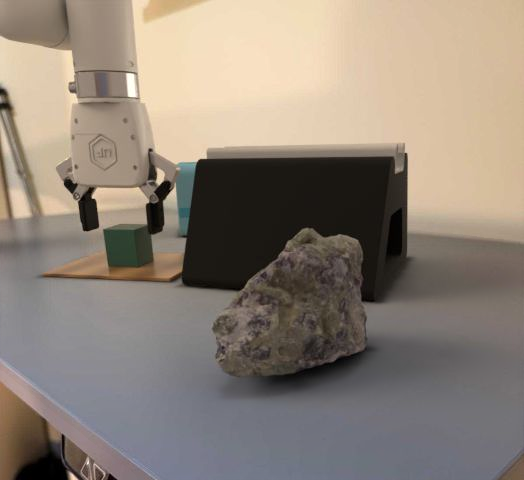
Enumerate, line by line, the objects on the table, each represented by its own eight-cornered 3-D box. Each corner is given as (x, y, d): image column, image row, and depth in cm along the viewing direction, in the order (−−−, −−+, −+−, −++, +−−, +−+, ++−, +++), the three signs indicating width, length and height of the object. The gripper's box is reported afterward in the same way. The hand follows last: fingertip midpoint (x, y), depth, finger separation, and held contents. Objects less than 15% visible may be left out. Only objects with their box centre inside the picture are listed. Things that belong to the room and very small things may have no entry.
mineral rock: (218, 399, 36) (208, 249, 32) (203, 343, 46) (194, 223, 42) (400, 379, 38) (410, 235, 34) (348, 329, 48) (352, 214, 44)
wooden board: (43, 276, 70) (42, 273, 70) (100, 254, 83) (100, 251, 83) (169, 281, 66) (169, 278, 66) (210, 257, 78) (210, 254, 78)
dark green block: (107, 266, 73) (102, 229, 71) (124, 259, 77) (120, 223, 75) (138, 267, 71) (134, 229, 70) (154, 260, 76) (150, 224, 74)
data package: (205, 236, 94) (200, 164, 90) (179, 237, 94) (173, 165, 90) (207, 226, 105) (203, 161, 101) (184, 227, 105) (178, 162, 101)
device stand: (256, 249, 82) (253, 144, 77) (406, 257, 74) (415, 140, 69) (182, 286, 63) (170, 150, 58) (373, 302, 55) (381, 146, 50)
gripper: (28, 90, 65) (50, 233, 71) (159, 87, 61) (170, 239, 67) (65, 94, 72) (82, 224, 78) (185, 91, 67) (193, 229, 74)
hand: (123, 231), depth 73 cm, fingers open, 9 cm apart
